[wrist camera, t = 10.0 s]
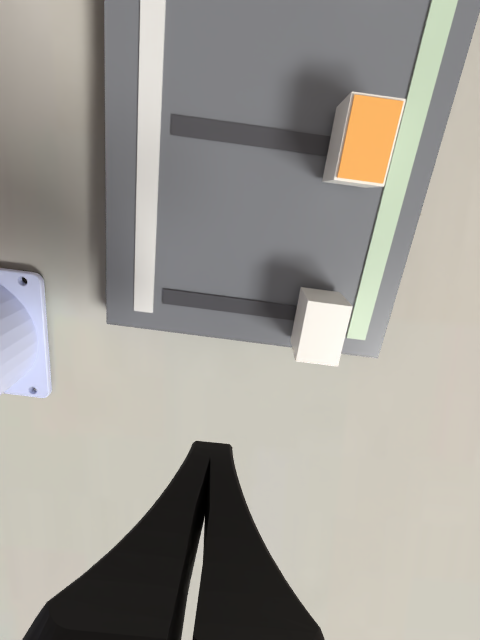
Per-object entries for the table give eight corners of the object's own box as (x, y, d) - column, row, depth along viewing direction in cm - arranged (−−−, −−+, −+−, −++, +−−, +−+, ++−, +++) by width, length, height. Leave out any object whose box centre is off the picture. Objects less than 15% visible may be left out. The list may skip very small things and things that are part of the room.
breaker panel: (116, 314, 20) (105, 324, 19) (117, -169, 13) (101, -214, 12) (369, 347, 21) (378, 359, 19) (497, -112, 14) (527, -149, 12)
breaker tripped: (322, 181, 16) (334, 179, 14) (336, 106, 15) (352, 90, 12) (365, 187, 16) (385, 186, 14) (382, 113, 15) (407, 98, 13)
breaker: (290, 340, 19) (295, 361, 16) (300, 287, 18) (308, 300, 15) (327, 345, 19) (337, 366, 16) (339, 292, 18) (352, 306, 15)
